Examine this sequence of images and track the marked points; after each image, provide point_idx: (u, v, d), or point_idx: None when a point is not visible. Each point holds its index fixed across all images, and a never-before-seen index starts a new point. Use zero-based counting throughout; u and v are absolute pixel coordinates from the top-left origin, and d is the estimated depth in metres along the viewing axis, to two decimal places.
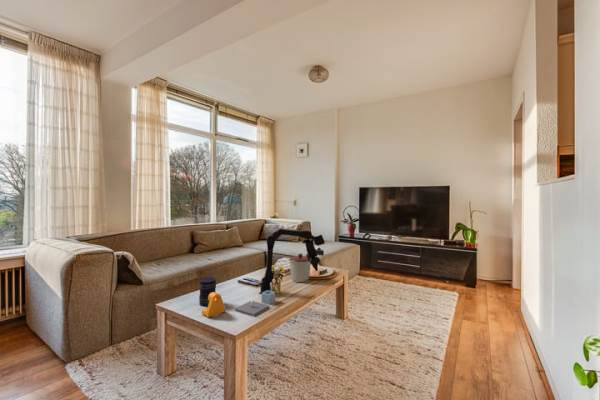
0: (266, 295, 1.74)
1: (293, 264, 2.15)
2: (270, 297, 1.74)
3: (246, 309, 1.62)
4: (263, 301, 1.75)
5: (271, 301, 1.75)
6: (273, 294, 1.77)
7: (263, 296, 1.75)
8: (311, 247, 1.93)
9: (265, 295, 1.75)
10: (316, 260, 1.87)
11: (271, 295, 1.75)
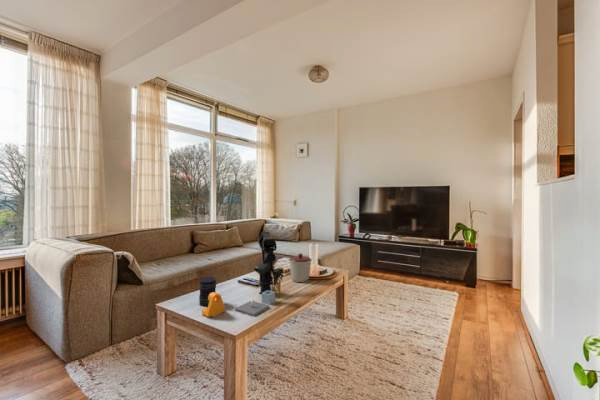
0: (266, 295, 1.74)
1: (293, 264, 2.15)
2: (270, 297, 1.74)
3: (246, 309, 1.62)
4: (263, 301, 1.75)
5: (271, 301, 1.75)
6: (273, 294, 1.77)
7: (263, 296, 1.75)
8: (264, 257, 1.75)
9: (265, 295, 1.75)
10: None
11: (271, 295, 1.75)
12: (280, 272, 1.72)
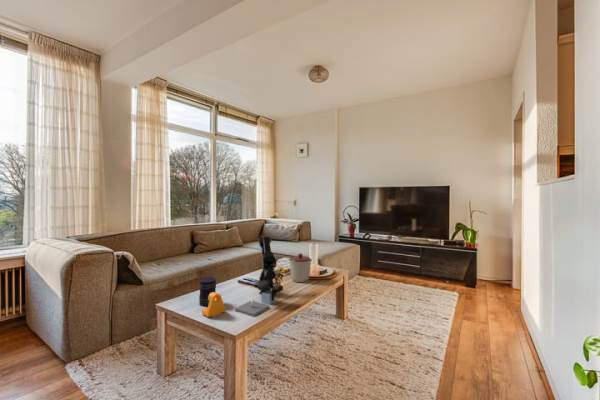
0: (266, 295, 1.74)
1: (293, 264, 2.15)
2: (270, 297, 1.74)
3: (246, 309, 1.62)
4: (263, 301, 1.75)
5: (271, 301, 1.75)
6: None
7: (263, 296, 1.75)
8: (264, 274, 1.76)
9: (265, 295, 1.75)
10: None
11: (271, 295, 1.75)
12: (280, 289, 1.72)
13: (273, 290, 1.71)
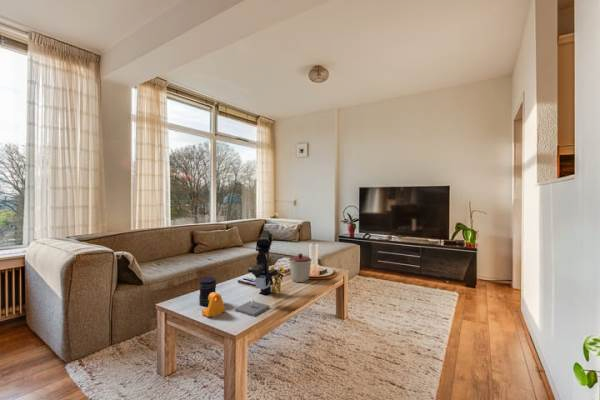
0: (260, 279, 1.69)
1: (293, 264, 2.15)
2: (264, 282, 1.69)
3: (246, 309, 1.62)
4: (258, 286, 1.70)
5: (265, 286, 1.70)
6: None
7: (257, 281, 1.70)
8: None
9: (259, 280, 1.70)
10: None
11: (265, 280, 1.70)
12: (275, 273, 1.67)
13: (268, 274, 1.66)
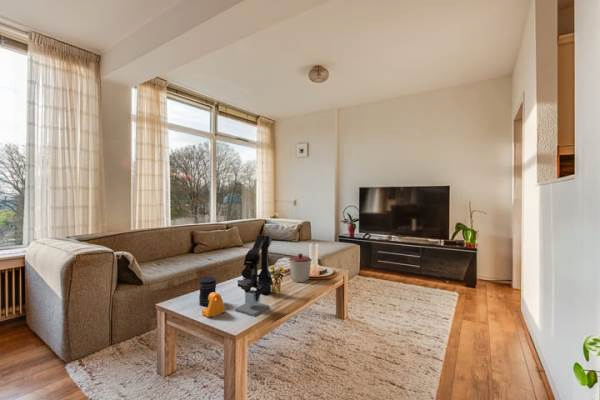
0: (249, 295, 1.63)
1: (293, 264, 2.15)
2: (254, 297, 1.62)
3: (246, 309, 1.62)
4: (247, 301, 1.64)
5: (255, 301, 1.63)
6: None
7: (247, 296, 1.64)
8: None
9: (249, 295, 1.63)
10: None
11: (255, 295, 1.63)
12: (264, 289, 1.60)
13: (257, 290, 1.60)
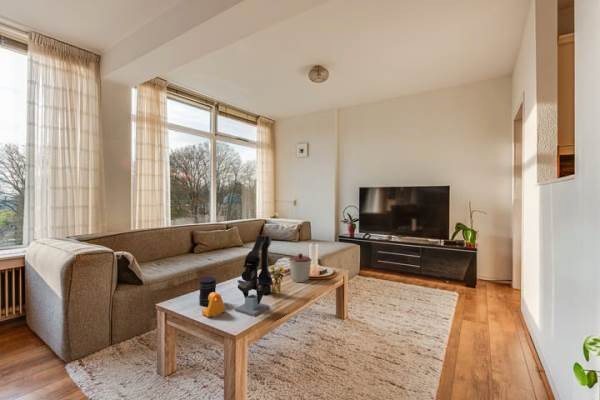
0: (249, 299, 1.63)
1: (293, 264, 2.15)
2: (254, 302, 1.63)
3: (246, 309, 1.62)
4: (247, 306, 1.64)
5: (255, 306, 1.64)
6: None
7: (246, 301, 1.64)
8: None
9: (249, 300, 1.63)
10: None
11: (255, 300, 1.63)
12: (264, 291, 1.60)
13: (257, 292, 1.60)
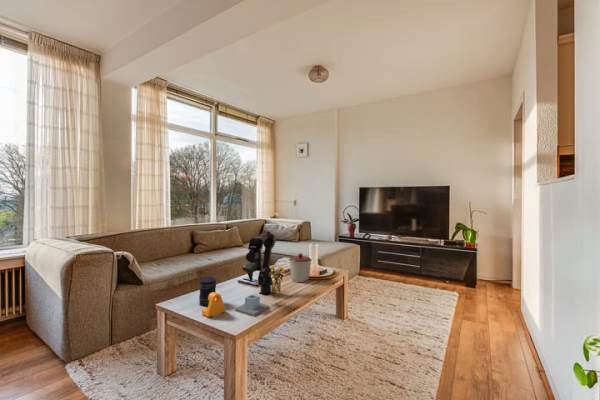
0: (249, 299, 1.63)
1: (293, 264, 2.15)
2: (254, 302, 1.63)
3: (246, 309, 1.62)
4: (247, 306, 1.64)
5: (255, 306, 1.64)
6: (257, 298, 1.65)
7: (246, 301, 1.64)
8: None
9: (249, 300, 1.63)
10: None
11: (255, 300, 1.63)
12: (268, 271, 1.70)
13: (261, 272, 1.69)
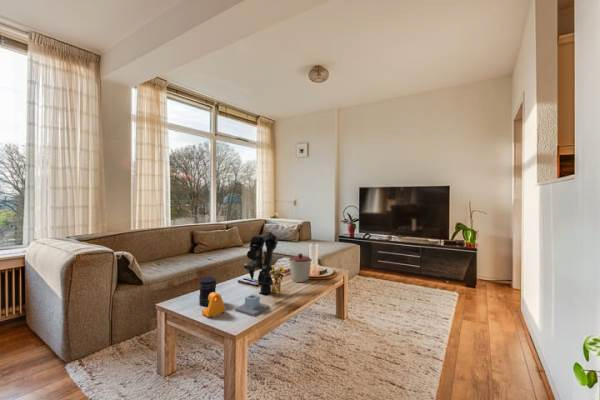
0: (249, 299, 1.63)
1: (293, 264, 2.15)
2: (254, 302, 1.63)
3: (246, 309, 1.62)
4: (247, 306, 1.64)
5: (255, 306, 1.64)
6: (257, 298, 1.65)
7: (246, 301, 1.64)
8: None
9: (249, 300, 1.63)
10: None
11: (255, 300, 1.63)
12: (269, 269, 1.73)
13: (262, 270, 1.73)
